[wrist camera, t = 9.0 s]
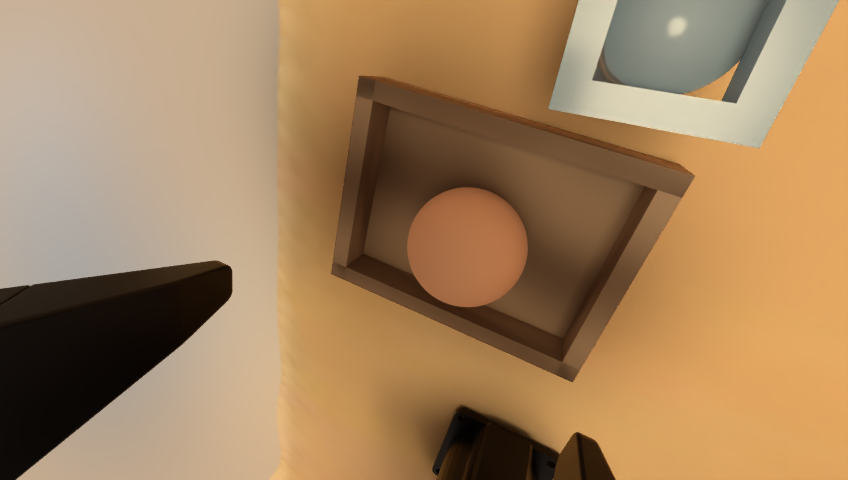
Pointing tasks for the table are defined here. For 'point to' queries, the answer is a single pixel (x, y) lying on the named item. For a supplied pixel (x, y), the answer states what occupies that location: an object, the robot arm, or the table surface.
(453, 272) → the ball
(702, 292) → the table surface
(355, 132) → the tray
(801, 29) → the stand
